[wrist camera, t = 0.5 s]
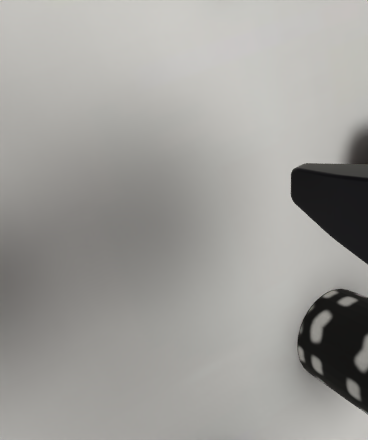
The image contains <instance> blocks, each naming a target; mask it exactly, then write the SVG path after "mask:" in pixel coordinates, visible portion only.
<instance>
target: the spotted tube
mask: <svg viewBox="0 0 368 440" xmlns="http://www.w3.org/2000/svg"><path fill="white" fill-rule="evenodd" d="M298 353H299V357H300V361H301V363H302V365H303V367H304V368H305V369H306V370H307V371H308V372H309V373H310V374H312V375H313V376H315V377H316V378H317V379H319V380H320V381H322V382H323V383H324V384H326V385H327V386H329V387H330V388H331V389H333V390H334V391H336V392H337V393H338V394H340V395H341V396H342V397H344V398H345V399H347V400H348V401H349V402H351V403H352V404H354V405H355V406H356V407H358V408H359V409H361V410H362V411H363V412H365V413H366V414H368V298H367V297H364V296H362V295H359V294H357V293H354V292H351V291H349V290H344V289H338V290H333V291H331V292H328V293H327V294H325V295H323V296H322V297H321V298H320V299H319V300H317V301H316V302H315V303H314V305H313V306H312V307H311V309H310V310H309V312H308V313H307V315H306V317H305V319H304V321H303V324H302V326H301V329H300V333H299V339H298Z"/></svg>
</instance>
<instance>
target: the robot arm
mask: <svg viewBox="0 0 368 440" xmlns="http://www.w3.org/2000/svg"><path fill="white" fill-rule="evenodd" d="M291 197H292V200H293V201H294V203H295V204H296V205H297V206H298V207H299V208H300V209H302V210H303V211H304V212H305V213H306V214H307V215H308V216H309V217H310V218H311V219H312V220H314V221H315V222H316V223H317V224H318V225H319V226H320V227H321V228H322V229H323V230H324V231H325V232H327V233H328V234H329V235H330V236H331V237H332V238H334V239H335V240H336V241H337V242H339V243H340V244H341V245H343V246H344V247H345V248H347V249H348V250H349V251H351V252H352V253H353V254H355V255H356V256H357V257H359V258H360V259H361V260H363V261H364V262H365V263H367V264H368V164H311V163H306V164H303V165H300V166H298V167H296V168H294V169H293V170H292V173H291Z"/></svg>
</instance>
